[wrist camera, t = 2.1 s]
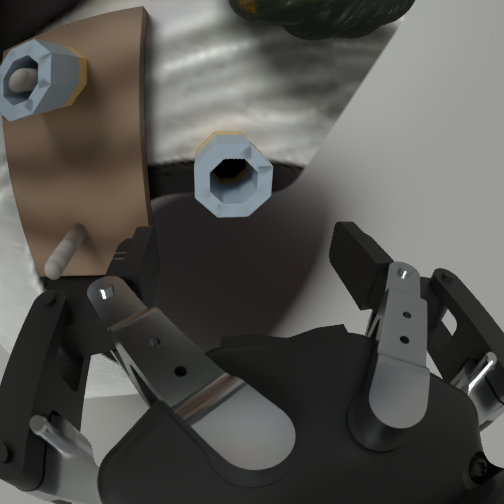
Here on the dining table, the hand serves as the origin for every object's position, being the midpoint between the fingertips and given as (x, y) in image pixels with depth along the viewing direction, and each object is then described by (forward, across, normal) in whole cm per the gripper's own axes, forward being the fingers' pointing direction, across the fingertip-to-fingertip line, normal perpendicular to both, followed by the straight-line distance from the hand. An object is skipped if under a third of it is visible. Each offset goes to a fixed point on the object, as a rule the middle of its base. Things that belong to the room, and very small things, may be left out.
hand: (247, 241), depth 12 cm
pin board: (+14, +14, -2) cm, 20 cm away
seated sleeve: (+11, +14, -9) cm, 20 cm away
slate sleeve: (+14, 0, 0) cm, 14 cm away
